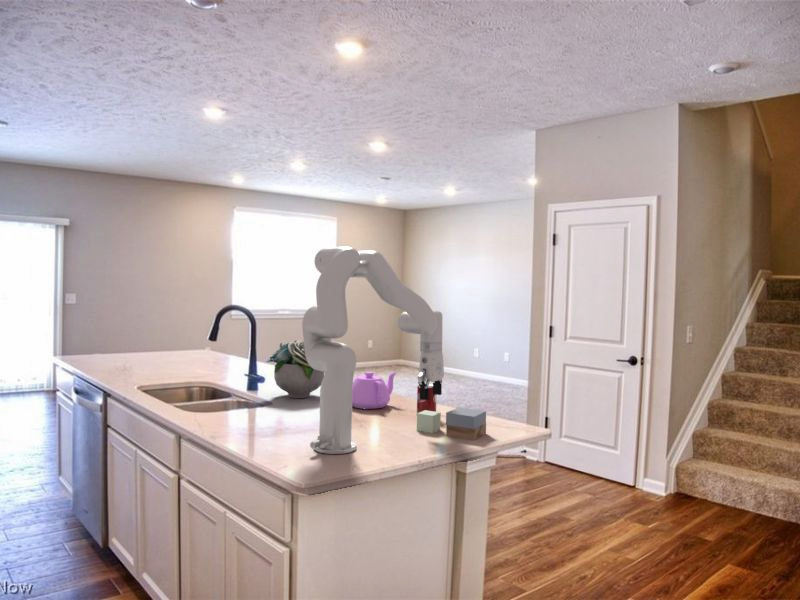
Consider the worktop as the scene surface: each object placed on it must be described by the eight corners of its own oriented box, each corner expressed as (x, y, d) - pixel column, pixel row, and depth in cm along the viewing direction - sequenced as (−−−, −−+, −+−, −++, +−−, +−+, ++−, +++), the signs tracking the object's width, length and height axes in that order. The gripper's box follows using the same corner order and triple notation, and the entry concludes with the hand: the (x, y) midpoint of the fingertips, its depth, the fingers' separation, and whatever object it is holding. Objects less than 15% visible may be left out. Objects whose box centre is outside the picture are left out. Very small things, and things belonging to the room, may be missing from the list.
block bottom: (474, 441, 187) (474, 429, 187) (446, 436, 192) (446, 424, 191) (485, 434, 195) (486, 422, 195) (458, 430, 200) (458, 418, 200)
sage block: (432, 433, 194) (432, 415, 194) (416, 430, 197) (417, 413, 197) (440, 429, 199) (440, 412, 199) (424, 427, 202) (425, 410, 202)
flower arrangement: (303, 405, 232) (304, 344, 232) (257, 397, 245) (258, 339, 244) (340, 395, 254) (341, 339, 253) (295, 389, 266) (296, 336, 266)
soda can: (419, 420, 212) (420, 387, 212) (414, 415, 219) (414, 384, 219) (438, 419, 214) (439, 387, 213) (432, 415, 221) (433, 383, 220)
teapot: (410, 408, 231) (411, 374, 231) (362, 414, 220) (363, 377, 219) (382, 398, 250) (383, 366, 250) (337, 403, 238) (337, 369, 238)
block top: (473, 429, 186) (474, 416, 186) (445, 424, 191) (446, 412, 191) (485, 423, 195) (486, 411, 195) (458, 418, 200) (459, 407, 200)
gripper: (429, 350, 188) (429, 403, 189) (451, 345, 203) (451, 393, 204) (409, 349, 192) (408, 400, 192) (432, 343, 207) (432, 391, 207)
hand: (430, 397), depth 198 cm, fingers open, 9 cm apart
